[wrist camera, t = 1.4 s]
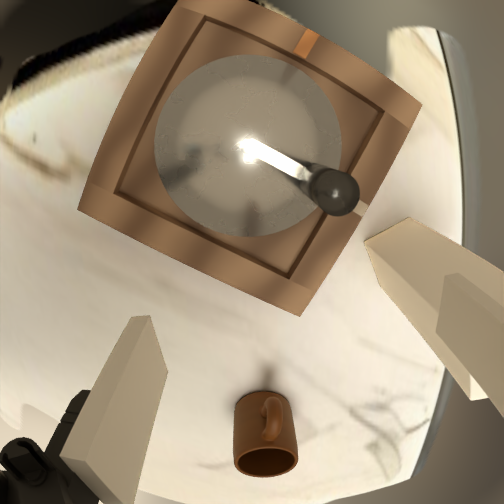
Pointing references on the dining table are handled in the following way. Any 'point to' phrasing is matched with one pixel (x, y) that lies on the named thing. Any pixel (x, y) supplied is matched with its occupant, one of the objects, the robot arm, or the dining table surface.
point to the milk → (430, 283)
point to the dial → (252, 147)
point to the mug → (264, 435)
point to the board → (209, 241)
